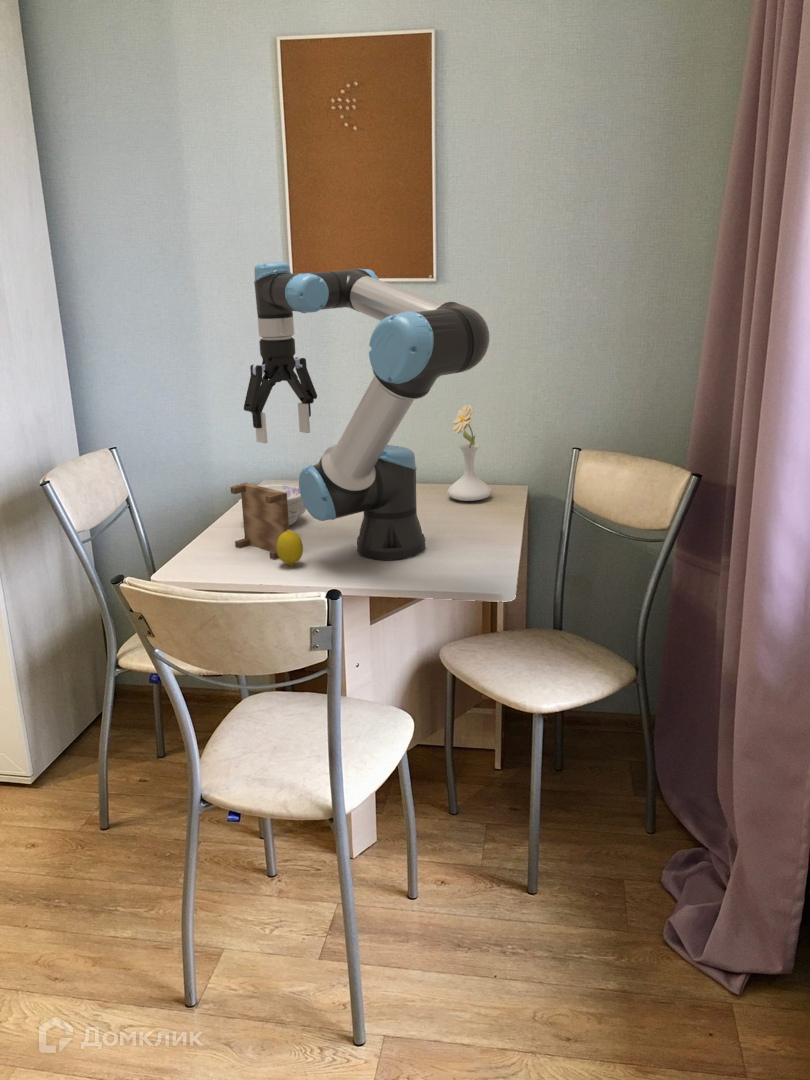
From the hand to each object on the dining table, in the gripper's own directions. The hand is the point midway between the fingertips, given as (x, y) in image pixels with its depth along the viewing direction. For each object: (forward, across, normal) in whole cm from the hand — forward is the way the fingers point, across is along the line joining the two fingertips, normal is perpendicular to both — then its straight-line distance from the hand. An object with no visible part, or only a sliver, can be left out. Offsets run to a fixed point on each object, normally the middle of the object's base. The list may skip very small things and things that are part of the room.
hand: (283, 437), depth 216 cm
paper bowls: (+24, -7, -14) cm, 29 cm away
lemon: (+24, +11, +12) cm, 29 cm away
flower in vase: (+24, -51, +11) cm, 58 cm away
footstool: (+24, +8, 0) cm, 26 cm away
